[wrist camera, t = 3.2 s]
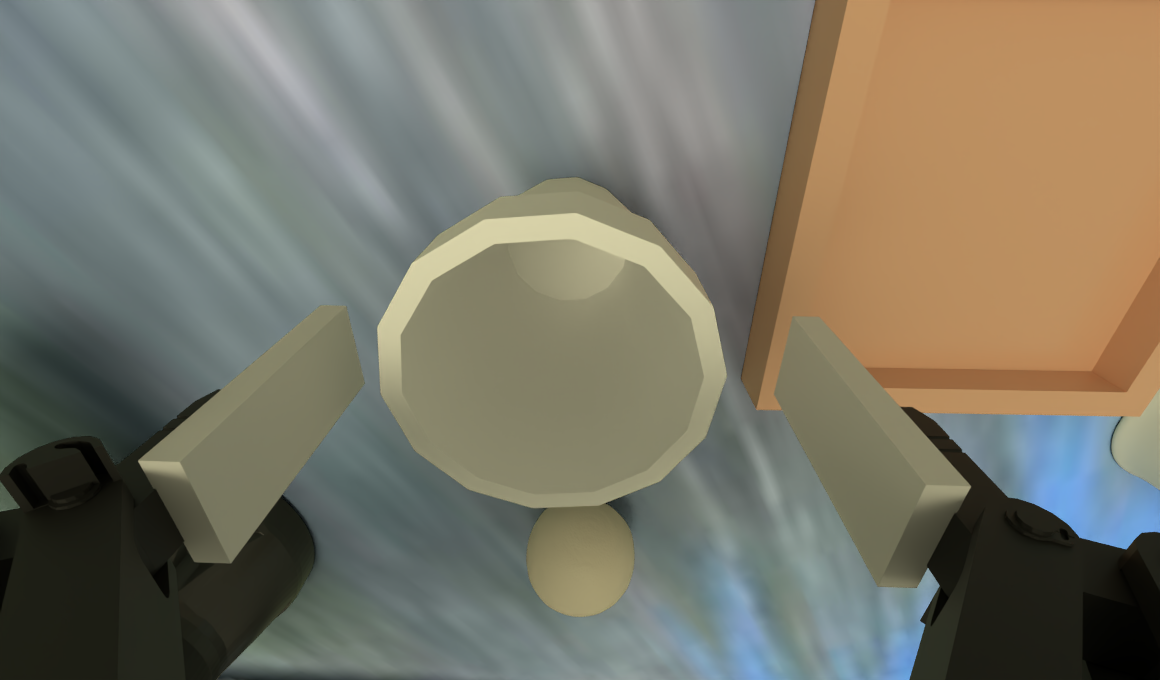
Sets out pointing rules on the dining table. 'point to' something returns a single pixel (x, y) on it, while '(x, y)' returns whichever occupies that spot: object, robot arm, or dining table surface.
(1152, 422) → the mug
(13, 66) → the dining table surface
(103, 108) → the dining table surface
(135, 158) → the dining table surface
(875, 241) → the tray
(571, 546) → the beige ball
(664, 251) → the foam cup
